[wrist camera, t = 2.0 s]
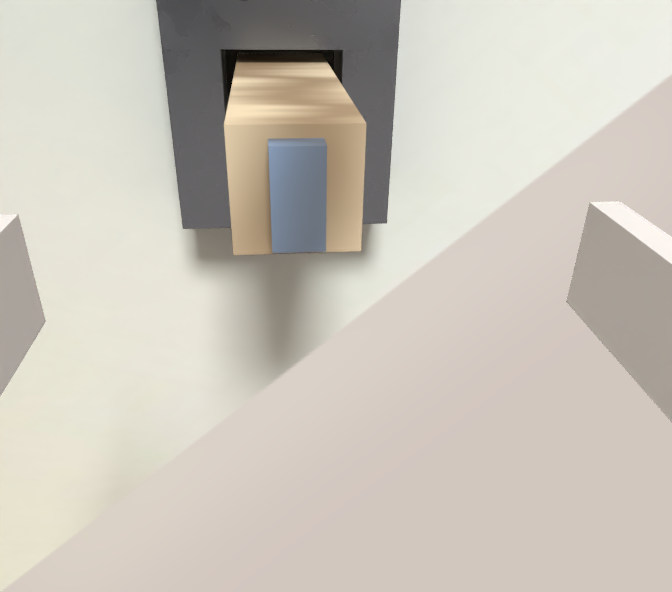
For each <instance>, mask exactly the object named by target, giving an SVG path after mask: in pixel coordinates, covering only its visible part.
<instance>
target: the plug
mask: <svg viewBox="0 0 672 592" xmlns="http://www.w3.org/2000/svg"><path fill="white" fill-rule="evenodd" d="M224 134H225V148H226V161H227V175H228V189H229V202H230V216H231V229H232V243H233V255H255V254H286V253H316V252H347V251H361V242H362V218H363V194H364V170H365V147H366V122H365V120H364V119H363V117H362V116H361V114H360V112H359V111H358V109H357V108H356V106H355V105H354V103H353V101H352V100H351V98H350V97H349V95H348V94H347V92H346V91H345V89H344V87H343V86H342V84H341V83H340V81H339V80H338V78H337V76H336V75H335V73H334V72H333V70H332V69H331V67H330V65H329V64H328V62H327V61H326V59H325V58H324V56H323V54H322V53H238V56H237V61H236V66H235V71H234V76H233V81H232V86H231V91H230V96H229V101H228V106H227V111H226V116H225V121H224Z"/></svg>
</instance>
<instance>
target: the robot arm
mask: <svg viewBox="0 0 672 592" xmlns="http://www.w3.org/2000/svg"><path fill="white" fill-rule="evenodd" d="M566 302H567V303H568V304H569V305H570V307H571V308H572V309H573V310H574V311H575V312H576V313H577V315H578V316H579V317H580V318H581V319H582V320H583V321H584V323H585V324H586V325H587V326H588V327H589V328H590V329H591V331H592V332H593V333H594V334H595V335H596V336H597V337H598V339H599V340H600V341H601V342H602V343H603V344H604V345H605V346H606V348H607V349H608V350H609V351H610V352H611V353H612V354H613V356H614V357H615V358H616V359H617V360H618V361H619V362H620V364H621V365H622V366H623V367H624V368H625V369H626V371H627V372H628V373H629V374H630V375H631V376H632V377H633V379H634V380H635V381H636V382H637V383H638V384H639V385H640V386H641V388H642V389H643V390H644V391H645V392H646V393H647V395H648V396H649V397H650V398H651V399H652V400H653V401H654V403H655V404H656V405H657V406H658V407H659V408H660V409H661V411H662V412H663V413H664V414H665V415H666V416H667V417H668V419H670V421H671V422H672V237H671V236H669V235H668V234H666V233H665V232H663V231H662V230H661V229H659V228H658V227H656V226H655V225H653V224H652V223H650V222H649V221H647V220H646V219H645V218H643V217H642V216H640V215H639V214H637V213H636V212H634V211H633V210H631V209H630V208H629V207H627V206H626V205H624V204H623V203H621V202H590V203H589V207H588V212H587V216H586V220H585V225H584V229H583V233H582V237H581V242H580V246H579V250H578V255H577V259H576V263H575V267H574V272H573V276H572V280H571V284H570V289H569V293H568V297H567V301H566ZM45 322H46V321H45V317H44V313H43V309H42V305H41V301H40V298H39V294H38V290H37V286H36V282H35V278H34V274H33V270H32V266H31V262H30V258H29V255H28V251H27V247H26V243H25V239H24V235H23V231H22V227H21V223H20V219H19V215H18V214H5V215H0V396H1V395H2V393H3V391H4V390H5V388H6V386H7V385H8V383H9V381H10V380H11V378H12V376H13V375H14V373H15V371H16V370H17V368H18V366H19V365H20V363H21V361H22V360H23V358H24V356H25V355H26V353H27V352H28V350H29V348H30V347H31V345H32V343H33V342H34V340H35V338H36V337H37V335H38V333H39V332H40V330H41V328H42V327H43V325H44V323H45Z"/></svg>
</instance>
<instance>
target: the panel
mask: <svg viewBox="0 0 672 592" xmlns="http://www.w3.org/2000/svg"><path fill="white" fill-rule="evenodd" d="M156 2H157V10H158V19H159V27H160V36H161V44H162V53H163V62H164V70H165V79H166V87H167V96H168V105H169V113H170V122H171V130H172V139H173V148H174V156H175V165H176V173H177V182H178V190H179V199H180V208H181V216H182V225H183V229H195V228H231V216H230V202H229V189H228V175H227V161H226V148H225V134H224V121H225V116H226V111H227V106H228V101H229V99H228V84H227V69H226V55H225V49H241V50H334V73H335V75H336V76H337V78H338V80H339V81H340V83H341V84H342V86H343V87H344V89H345V91H346V92H347V94H348V95H349V97H350V98H351V100H352V101H353V103H354V105H355V106H356V108H357V109H358V111H359V112H360V114H361V116H362V117H363V119H364V120H365V122H366V147H365V170H364V194H363V218H362V224H377V223H387V211H388V195H389V179H390V163H391V148H392V132H393V116H394V100H395V85H396V69H397V53H398V37H399V22H400V6H401V0H156Z"/></svg>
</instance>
